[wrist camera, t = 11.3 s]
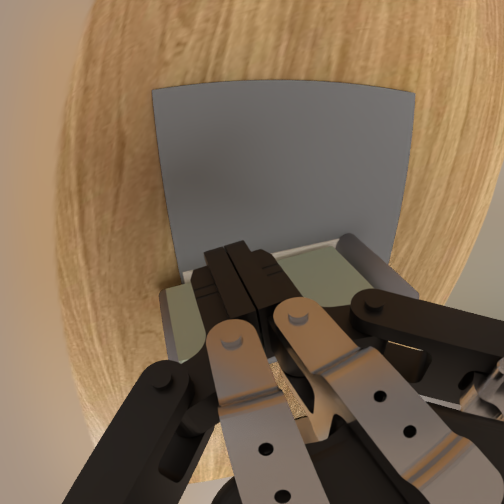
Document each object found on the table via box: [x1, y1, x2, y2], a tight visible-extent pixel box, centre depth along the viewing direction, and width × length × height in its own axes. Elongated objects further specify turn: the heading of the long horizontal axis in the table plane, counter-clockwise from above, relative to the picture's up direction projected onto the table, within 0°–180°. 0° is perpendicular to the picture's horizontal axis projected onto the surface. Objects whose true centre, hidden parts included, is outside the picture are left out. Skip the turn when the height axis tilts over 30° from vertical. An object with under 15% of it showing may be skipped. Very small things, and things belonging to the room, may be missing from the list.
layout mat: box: [152, 80, 415, 364], centre depth 22 cm, size 24×18×1 cm
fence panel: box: [159, 246, 373, 364], centre depth 18 cm, size 13×1×6 cm, turn 94°
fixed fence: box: [335, 233, 419, 299], centre depth 23 cm, size 13×2×8 cm, turn 2°
